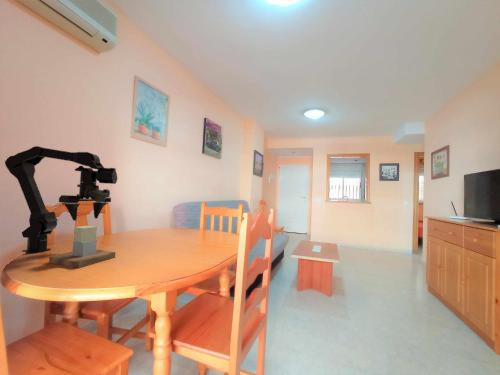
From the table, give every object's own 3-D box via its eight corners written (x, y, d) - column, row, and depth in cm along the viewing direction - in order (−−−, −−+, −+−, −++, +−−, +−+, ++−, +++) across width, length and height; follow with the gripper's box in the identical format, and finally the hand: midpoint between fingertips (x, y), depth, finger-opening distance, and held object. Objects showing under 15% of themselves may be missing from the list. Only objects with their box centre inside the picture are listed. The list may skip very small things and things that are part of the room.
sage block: (73, 240, 84) (74, 226, 84) (88, 238, 88) (89, 225, 88) (81, 242, 81) (82, 228, 81) (95, 240, 86) (96, 226, 86)
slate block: (72, 255, 83) (73, 241, 83) (85, 252, 87) (86, 238, 87) (82, 256, 81) (83, 242, 81) (95, 253, 86) (96, 240, 86)
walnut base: (49, 262, 79) (49, 256, 79) (87, 253, 93) (88, 248, 93) (78, 268, 75) (79, 262, 75) (115, 257, 89) (115, 252, 89)
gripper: (80, 181, 86) (77, 223, 85) (121, 184, 104) (119, 219, 103) (59, 180, 89) (56, 221, 89) (102, 183, 107) (100, 217, 106)
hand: (85, 219), depth 97 cm, fingers open, 9 cm apart
